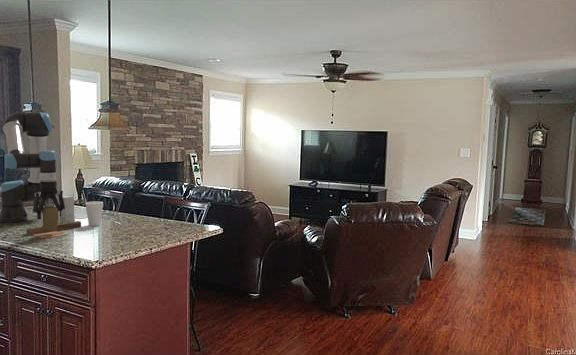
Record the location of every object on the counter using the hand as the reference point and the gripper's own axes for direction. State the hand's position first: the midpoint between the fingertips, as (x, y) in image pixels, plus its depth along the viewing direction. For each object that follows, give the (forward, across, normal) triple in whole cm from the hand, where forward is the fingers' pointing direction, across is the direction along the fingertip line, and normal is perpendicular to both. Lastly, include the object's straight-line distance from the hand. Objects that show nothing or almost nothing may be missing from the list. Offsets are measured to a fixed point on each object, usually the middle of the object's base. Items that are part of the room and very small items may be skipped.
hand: (49, 224), depth 244 cm
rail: (+6, +7, +2) cm, 9 cm away
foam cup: (+6, +29, +7) cm, 30 cm away
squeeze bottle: (+3, 0, 0) cm, 3 cm away
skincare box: (+6, +21, +25) cm, 33 cm away
